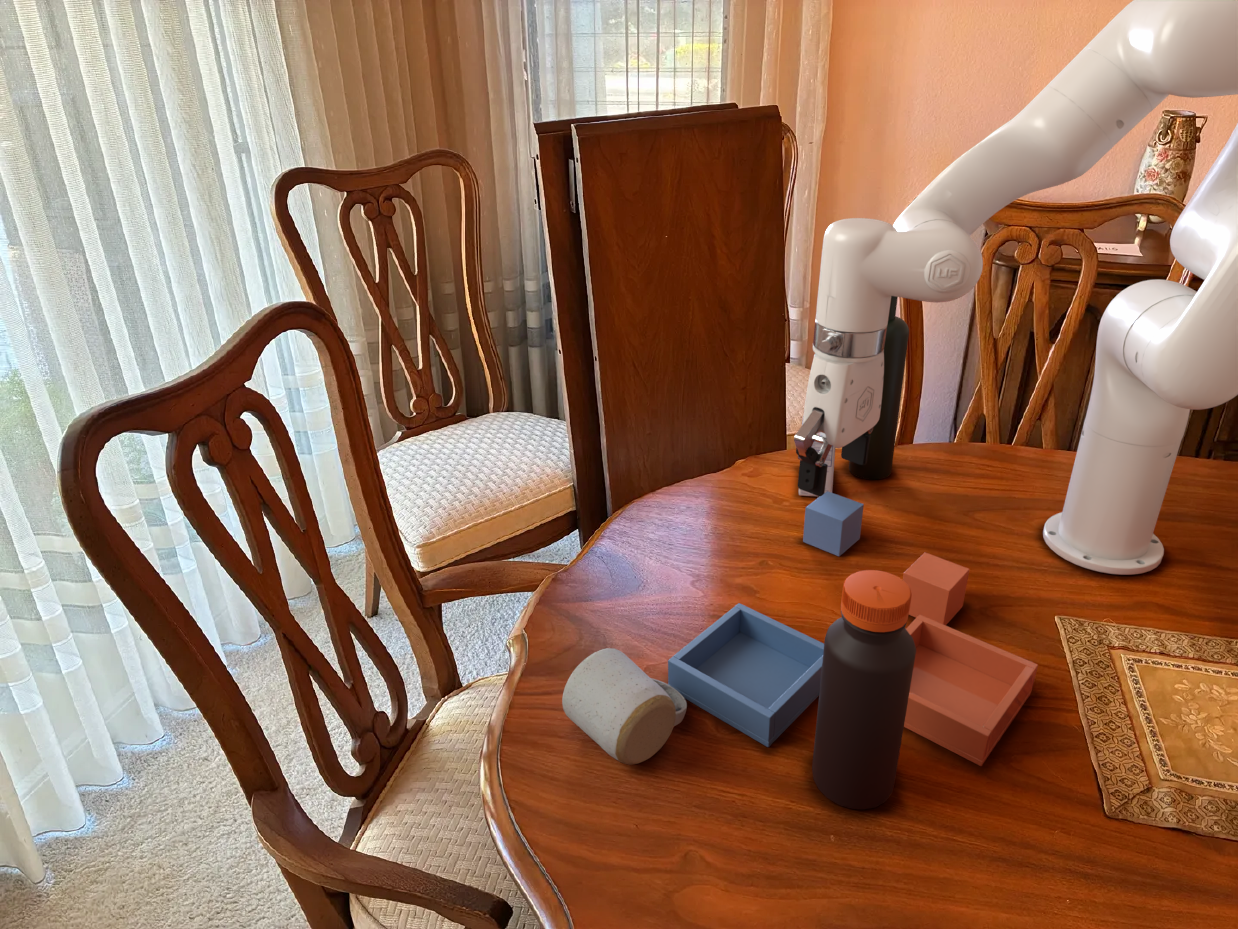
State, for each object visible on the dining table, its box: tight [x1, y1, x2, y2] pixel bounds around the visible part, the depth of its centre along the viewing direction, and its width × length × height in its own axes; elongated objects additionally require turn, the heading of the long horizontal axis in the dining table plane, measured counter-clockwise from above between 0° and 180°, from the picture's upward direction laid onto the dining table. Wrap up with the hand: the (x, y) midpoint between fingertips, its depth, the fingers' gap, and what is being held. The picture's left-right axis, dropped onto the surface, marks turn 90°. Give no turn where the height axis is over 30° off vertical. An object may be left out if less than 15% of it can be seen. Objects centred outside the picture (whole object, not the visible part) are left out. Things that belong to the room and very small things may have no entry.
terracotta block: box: [902, 551, 970, 626], centre depth 91 cm, size 5×5×5 cm
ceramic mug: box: [561, 647, 688, 766], centre depth 77 cm, size 11×8×8 cm
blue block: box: [802, 491, 865, 557], centre depth 104 cm, size 5×5×5 cm
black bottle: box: [811, 569, 916, 810], centre depth 68 cm, size 7×7×20 cm
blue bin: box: [667, 602, 824, 748], centre depth 83 cm, size 12×12×4 cm
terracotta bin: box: [904, 615, 1039, 767], centre depth 80 cm, size 12×12×4 cm
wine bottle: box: [848, 296, 910, 481], centre depth 113 cm, size 6×6×30 cm
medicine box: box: [798, 419, 836, 498], centre depth 115 cm, size 8×4×9 cm, turn 168°
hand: (832, 476), depth 101 cm, fingers open, 9 cm apart
